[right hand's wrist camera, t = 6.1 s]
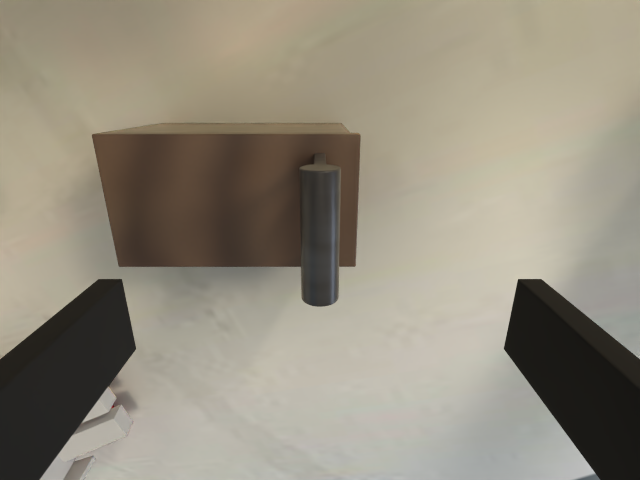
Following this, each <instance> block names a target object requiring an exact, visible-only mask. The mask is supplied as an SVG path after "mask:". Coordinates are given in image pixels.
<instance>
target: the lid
mask: <svg viewBox="0 0 640 480" xmlns="http://www.w3.org/2000/svg"><path fill="white" fill-rule="evenodd" d="M92 138H93V143H94V148H95V152H96V157H97V162H98V167H99V172H100V177H101V182H102V187H103V191H104V196H105V201H106V206H107V211H108V216H109V221H110V226H111V230H112V235H113V240H114V245H115V250H116V255H117V260H118V265H119V267H301V290H302V300H303V301H304V302H305V303H307V304H309V305H312V306H328V305H331V304H333V303H335V302H336V301H337V300H338V294H339V267H355V266H356V244H357V216H358V189H359V161H360V134H359V133H97V134H92Z"/></svg>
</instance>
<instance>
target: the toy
mask: <svg viewBox="0 0 640 480" xmlns="http://www.w3.org/2000/svg"><path fill="white" fill-rule="evenodd" d="M115 400H116V396H115V395H114V394H113V392H112V391H111V389H110V388H109V387H108V388H107V389H106V390H105V392H104V393H103V394H102V396H101V397H100V398H99V400H98V401H97V402H96V404H95V405H94V407H93V408H92V409H91V411H90V412H89V413H88V415H87V416H86V417H85V419H84V420H83V422H82V423H81V424H80V426H79V427H78V428H77V430H76V431H75V432H74V434H73V435H72V436H71V438H70V439H69V441H68V442H67V443H66V445H65V446H64V447H63V449H62V450H61V451H60V453H59V454H58V455H57V457H56V458H55V460H54V461H53V462H52V464H51V465H50V466H49V468H48V469H47V470H46V472H45V473H44V474H43V476H42V477H41V479H40V480H84V479H85V477H86V475H87V473H88V472H89V470H90V468H91V466H92V465H93V463H94V461H95V457H94V456H91V457H88V458H84V459H81V460H78V461H75V462H74V460H75V459H76V457H78V456H80V455H83V454H85V453H88V452H90V451H92V450H95V449H97V448H100V447H102V446H104V445H107V444H109V443H112V442H114V441H116V440H119V439H121V438H124V437H126V436H127V435H128V433H129V430H130V428H131V426H132V424H133V422H134V421H133V420H132V419H131V417H130V416H129V414H128V413H127V412H126V410H125V409H124V407H123V406H122V405H118V406H116V407H114V406H113V404H114V402H115Z"/></svg>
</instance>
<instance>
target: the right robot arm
mask: <svg viewBox="0 0 640 480" xmlns="http://www.w3.org/2000/svg"><path fill="white" fill-rule="evenodd" d="M135 350H136V346H135V341H134V336H133V331H132V326H131V322H130V317H129V312H128V307H127V302H126V297H125V292H124V287H123V282H122V279H98V280H97V281H96V282H95V283H93V284H92V285H91V286H90V287H89V288H87V289H86V290H85V291H84V292H82V293H81V294H80V295H79V296H77V297H76V298H75V299H74V300H73V301H71V302H70V303H69V304H68V305H66V306H65V307H64V308H63V309H62V310H60V311H59V312H58V313H57V314H55V315H54V316H53V317H52V318H50V319H49V320H48V321H47V322H46V323H44V324H43V325H42V326H41V327H39V328H38V329H37V330H36V331H34V332H33V333H32V334H31V335H30V336H28V337H27V338H26V339H25V340H23V341H22V342H21V343H20V344H19V345H17V346H16V347H15V348H14V349H12V350H11V351H10V352H9V353H7V354H6V355H5V356H4V357H3V358H1V359H0V480H40V479H41V477H42V476H43V474H44V473H45V472H46V470H47V469H48V468H49V466H50V465H51V464H52V462H53V461H54V460H55V458H56V457H57V455H58V454H59V453H60V451H61V450H62V449H63V447H64V446H65V445H66V443H67V442H68V441H69V439H70V438H71V436H72V435H73V434H74V432H75V431H76V430H77V428H78V427H79V426H80V424H81V423H82V422H83V420H84V419H85V417H86V416H87V415H88V413H89V412H90V411H91V409H92V408H93V407H94V405H95V404H96V402H97V401H98V400H99V398H100V397H101V396H102V394H103V393H104V392H105V390H106V389H107V388H108V386H109V385H110V383H111V382H112V381H113V379H114V378H115V377H116V375H117V374H118V373H119V371H120V370H121V369H122V367H123V366H124V364H125V363H126V362H127V360H128V359H129V358H130V356H131V355H132V354H133V352H134V351H135ZM504 350H505V351H506V352H507V354H508V355H509V356H510V358H511V359H512V360H513V362H514V363H515V364H516V366H517V367H518V369H519V370H520V371H521V373H522V374H523V375H524V377H525V378H526V379H527V381H528V382H529V384H530V385H531V386H532V388H533V389H534V390H535V392H536V393H537V394H538V396H539V397H540V398H541V400H542V401H543V403H544V404H545V405H546V407H547V408H548V409H549V411H550V412H551V413H552V415H553V416H554V417H555V419H556V420H557V422H558V423H559V424H560V426H561V427H562V428H563V430H564V431H565V432H566V434H567V435H568V436H569V438H570V439H571V441H572V442H573V443H574V445H575V446H576V447H577V449H578V450H579V451H580V453H581V454H582V455H583V457H584V458H585V460H586V461H587V462H588V464H589V465H590V466H591V468H592V469H593V470H594V472H595V473H596V474H597V476H598V477H599V479H600V480H640V359H639V358H637V357H636V356H635V355H634V354H633V353H631V352H630V351H629V350H628V349H626V348H625V347H624V346H623V345H621V344H620V343H619V342H618V341H617V340H615V339H614V338H613V337H612V336H610V335H609V334H608V333H607V332H606V331H604V330H603V329H602V328H601V327H599V326H598V325H597V324H596V323H594V322H593V321H592V320H591V319H590V318H588V317H587V316H586V315H585V314H583V313H582V312H581V311H580V310H578V309H577V308H576V307H575V306H574V305H572V304H571V303H570V302H569V301H567V300H566V299H565V298H564V297H563V296H561V295H560V294H559V293H558V292H556V291H555V290H554V289H553V288H551V287H550V286H549V285H548V284H547V283H545V282H544V281H543V280H542V279H518V282H517V287H516V292H515V297H514V302H513V307H512V312H511V317H510V322H509V326H508V331H507V336H506V341H505V346H504Z"/></svg>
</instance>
